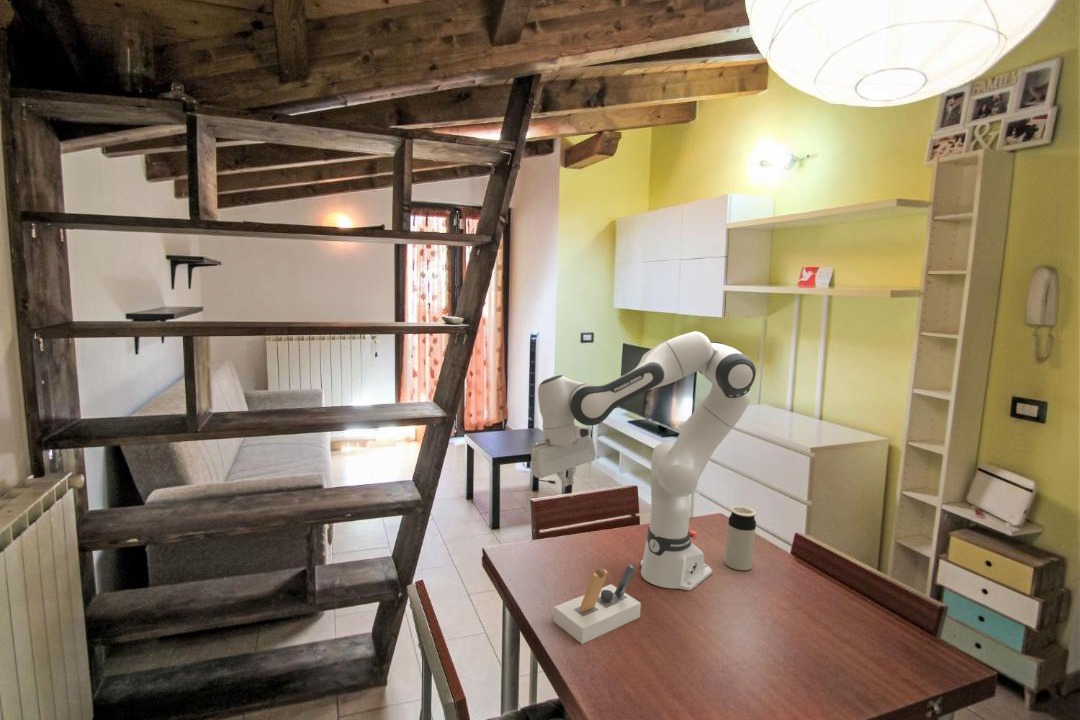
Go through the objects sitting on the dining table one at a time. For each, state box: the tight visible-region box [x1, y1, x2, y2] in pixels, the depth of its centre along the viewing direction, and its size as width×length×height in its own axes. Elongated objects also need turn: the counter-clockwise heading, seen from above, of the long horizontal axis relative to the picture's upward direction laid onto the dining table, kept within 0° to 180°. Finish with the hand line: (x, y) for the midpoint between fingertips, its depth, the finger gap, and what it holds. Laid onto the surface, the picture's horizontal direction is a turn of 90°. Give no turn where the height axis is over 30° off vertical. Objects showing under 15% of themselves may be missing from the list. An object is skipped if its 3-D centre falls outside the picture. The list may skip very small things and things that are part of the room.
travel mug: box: [724, 505, 757, 571], centre depth 180 cm, size 8×8×18 cm
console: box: [553, 583, 642, 645], centre depth 149 cm, size 20×11×4 cm, turn 127°
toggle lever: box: [615, 564, 636, 598], centre depth 150 cm, size 2×2×10 cm
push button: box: [601, 590, 613, 601], centre depth 150 cm, size 3×3×1 cm
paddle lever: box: [580, 567, 609, 612], centre depth 143 cm, size 4×2×13 cm, turn 127°
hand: (568, 484), depth 159 cm, fingers closed
